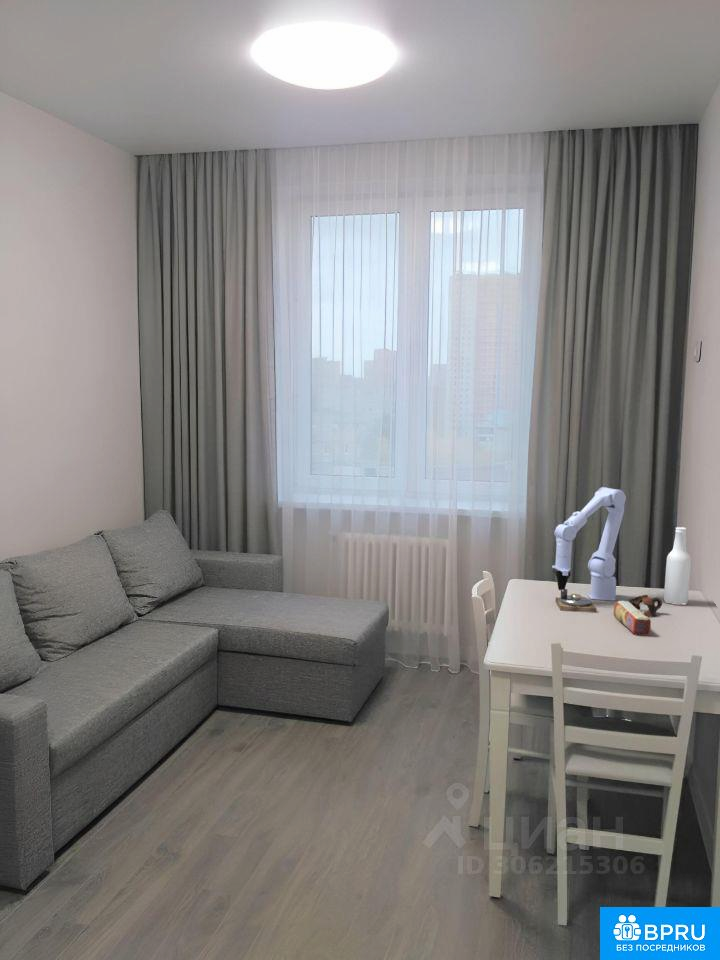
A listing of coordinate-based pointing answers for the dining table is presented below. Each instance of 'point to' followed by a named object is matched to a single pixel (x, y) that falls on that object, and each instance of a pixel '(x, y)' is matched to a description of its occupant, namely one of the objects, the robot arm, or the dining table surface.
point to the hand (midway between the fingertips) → (561, 589)
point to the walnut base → (575, 607)
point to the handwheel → (574, 599)
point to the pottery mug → (648, 602)
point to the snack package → (632, 618)
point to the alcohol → (677, 570)
